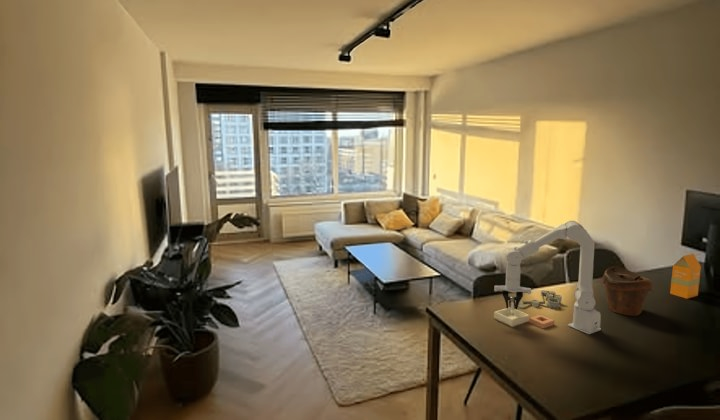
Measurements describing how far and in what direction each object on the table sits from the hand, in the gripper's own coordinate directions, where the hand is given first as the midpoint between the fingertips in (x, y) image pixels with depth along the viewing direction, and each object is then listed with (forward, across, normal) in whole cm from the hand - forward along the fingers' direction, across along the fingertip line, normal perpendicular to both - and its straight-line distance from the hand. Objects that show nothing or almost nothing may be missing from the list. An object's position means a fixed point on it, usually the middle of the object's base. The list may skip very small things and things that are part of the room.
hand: (511, 308), depth 181 cm
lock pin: (+3, 0, 0) cm, 3 cm away
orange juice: (+6, +82, +50) cm, 96 cm away
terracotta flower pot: (+6, +50, +23) cm, 55 cm away
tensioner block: (+5, +12, -1) cm, 13 cm away
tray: (+5, 0, 0) cm, 5 cm away
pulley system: (+6, +16, +23) cm, 28 cm away
